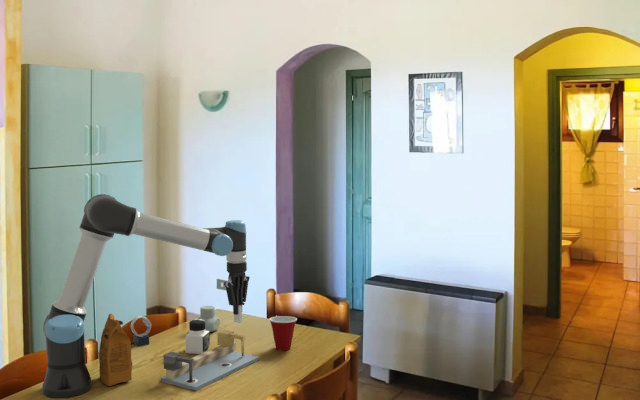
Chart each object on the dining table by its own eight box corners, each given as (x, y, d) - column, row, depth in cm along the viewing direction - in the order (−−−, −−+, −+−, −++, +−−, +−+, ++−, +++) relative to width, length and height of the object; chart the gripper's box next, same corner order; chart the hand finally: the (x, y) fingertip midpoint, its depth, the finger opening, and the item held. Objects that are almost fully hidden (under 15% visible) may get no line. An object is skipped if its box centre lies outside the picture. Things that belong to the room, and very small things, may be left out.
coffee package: (125, 371, 237) (123, 310, 235) (135, 382, 226) (133, 319, 224) (96, 376, 232) (94, 314, 230) (104, 388, 221) (102, 323, 219)
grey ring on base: (154, 343, 267) (153, 316, 266) (134, 347, 263) (133, 319, 261) (148, 339, 272) (147, 313, 271) (129, 343, 267) (128, 316, 266)
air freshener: (212, 335, 278) (211, 311, 277) (193, 333, 280) (192, 310, 279) (221, 327, 289) (221, 304, 288) (203, 326, 291) (203, 303, 290)
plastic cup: (298, 343, 267) (298, 314, 265) (295, 353, 256) (295, 322, 255) (271, 343, 268) (271, 313, 267) (267, 352, 257) (266, 321, 256)
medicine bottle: (203, 354, 254) (202, 323, 253) (185, 353, 256) (184, 322, 254) (210, 348, 261) (209, 318, 260) (192, 347, 263) (192, 317, 261)
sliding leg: (240, 357, 246) (240, 337, 245) (217, 352, 252) (217, 332, 251) (247, 354, 250) (247, 334, 249) (224, 349, 255) (224, 329, 254)
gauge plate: (196, 390, 220) (196, 387, 219) (160, 381, 228) (160, 377, 228) (258, 360, 248) (258, 356, 248) (224, 352, 257) (224, 349, 257)
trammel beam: (188, 383, 223) (187, 360, 222) (164, 377, 228) (163, 354, 227) (250, 354, 251) (250, 333, 251) (227, 348, 257) (227, 329, 256)
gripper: (233, 265, 247) (235, 327, 250) (254, 259, 258) (256, 319, 261) (217, 263, 251) (219, 324, 254) (239, 257, 262) (240, 316, 265)
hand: (238, 321), depth 257 cm, fingers closed
